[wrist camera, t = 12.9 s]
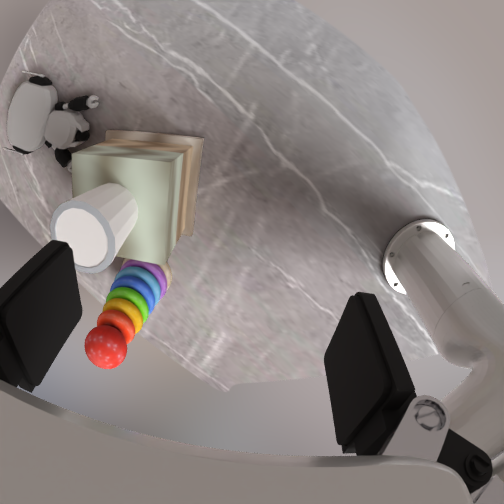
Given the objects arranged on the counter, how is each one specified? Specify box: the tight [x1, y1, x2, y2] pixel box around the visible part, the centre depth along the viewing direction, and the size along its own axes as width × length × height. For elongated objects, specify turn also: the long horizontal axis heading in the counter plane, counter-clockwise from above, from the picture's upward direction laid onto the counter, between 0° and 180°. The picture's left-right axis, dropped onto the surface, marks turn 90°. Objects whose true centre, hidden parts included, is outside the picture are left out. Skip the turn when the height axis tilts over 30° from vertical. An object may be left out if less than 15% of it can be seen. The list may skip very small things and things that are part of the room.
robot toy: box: [3, 70, 99, 173], centre depth 33 cm, size 12×4×15 cm
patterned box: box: [72, 130, 204, 265], centre depth 34 cm, size 13×13×11 cm
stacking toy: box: [85, 258, 172, 369], centre depth 37 cm, size 8×8×19 cm
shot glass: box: [50, 183, 138, 274], centre depth 26 cm, size 7×7×7 cm
